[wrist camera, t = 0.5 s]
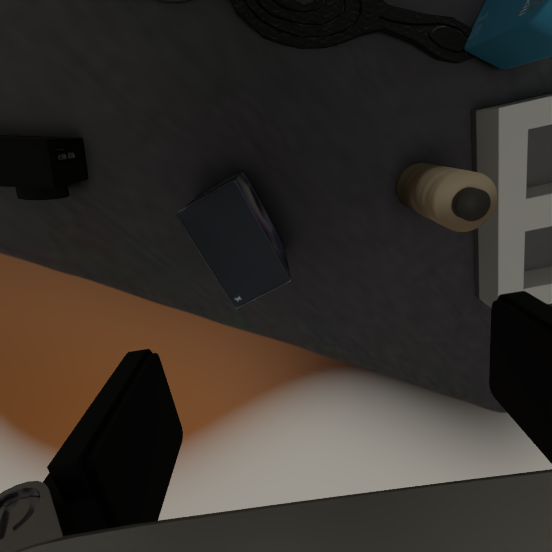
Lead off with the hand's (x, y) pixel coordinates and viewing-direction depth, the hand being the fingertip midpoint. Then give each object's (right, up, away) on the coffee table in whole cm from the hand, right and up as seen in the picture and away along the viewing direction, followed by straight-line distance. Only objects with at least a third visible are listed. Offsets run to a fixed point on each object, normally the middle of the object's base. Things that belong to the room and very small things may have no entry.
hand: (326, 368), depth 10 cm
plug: (+14, +13, +31) cm, 36 cm away
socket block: (+27, +11, +32) cm, 43 cm away
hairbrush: (+6, +28, +26) cm, 38 cm away
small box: (-5, +9, +32) cm, 34 cm away
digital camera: (-27, +15, +30) cm, 43 cm away
